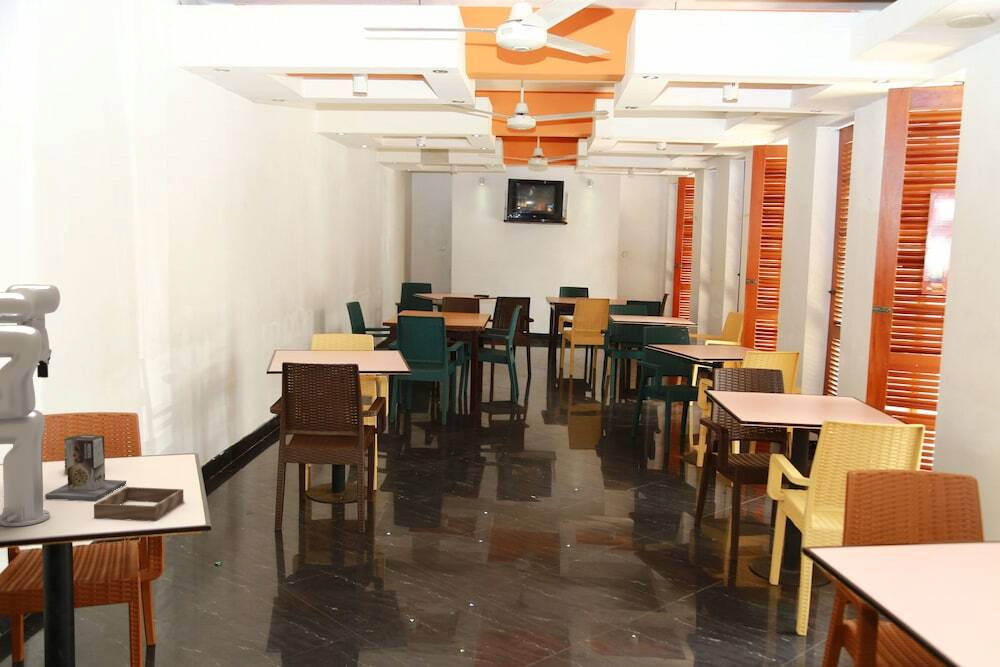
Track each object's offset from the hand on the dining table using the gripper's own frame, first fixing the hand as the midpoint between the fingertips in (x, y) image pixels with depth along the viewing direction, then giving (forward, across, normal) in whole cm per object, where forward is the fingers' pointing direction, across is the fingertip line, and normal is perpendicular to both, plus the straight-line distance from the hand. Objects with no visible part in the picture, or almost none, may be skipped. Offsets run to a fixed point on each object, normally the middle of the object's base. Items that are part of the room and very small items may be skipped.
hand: (32, 379), depth 249 cm
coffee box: (+35, +4, -14) cm, 38 cm away
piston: (+36, +26, 0) cm, 44 cm away
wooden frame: (+36, -10, -40) cm, 55 cm away
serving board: (+36, +4, -14) cm, 39 cm away
